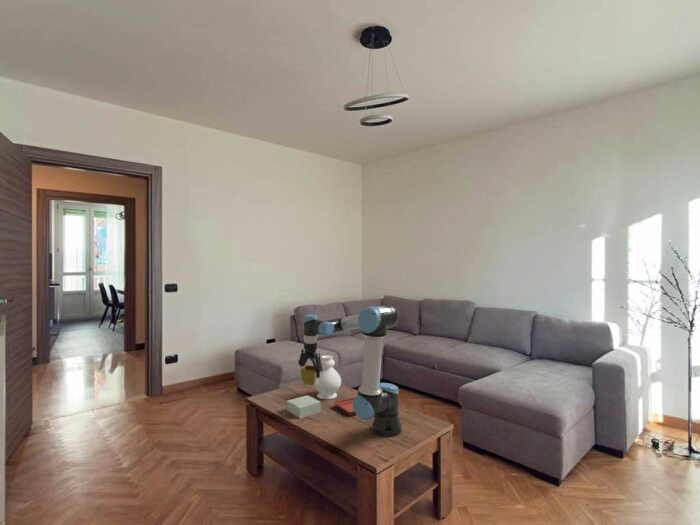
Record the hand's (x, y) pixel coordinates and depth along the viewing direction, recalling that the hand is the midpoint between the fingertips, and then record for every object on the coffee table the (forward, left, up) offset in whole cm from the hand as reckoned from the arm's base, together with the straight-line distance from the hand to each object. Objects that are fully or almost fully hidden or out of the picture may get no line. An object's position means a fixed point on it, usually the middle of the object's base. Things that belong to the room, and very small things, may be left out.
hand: (309, 380), depth 216 cm
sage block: (+4, +1, -19) cm, 19 cm away
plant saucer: (-14, -22, -19) cm, 32 cm away
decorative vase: (+13, -25, -19) cm, 34 cm away
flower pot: (0, 0, -2) cm, 2 cm away
